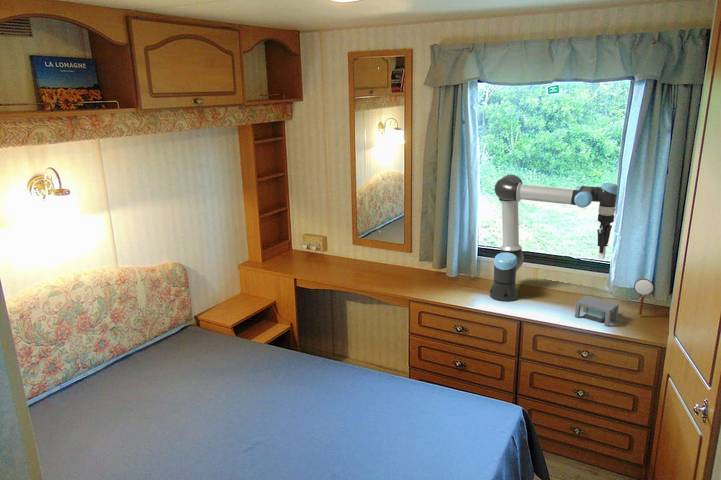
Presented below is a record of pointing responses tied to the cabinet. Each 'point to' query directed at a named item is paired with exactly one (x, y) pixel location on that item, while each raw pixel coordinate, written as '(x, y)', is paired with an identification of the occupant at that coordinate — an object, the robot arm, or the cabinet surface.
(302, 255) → the cabinet surface
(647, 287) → the magnifying glass
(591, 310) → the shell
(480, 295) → the cabinet surface
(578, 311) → the grey footstool
